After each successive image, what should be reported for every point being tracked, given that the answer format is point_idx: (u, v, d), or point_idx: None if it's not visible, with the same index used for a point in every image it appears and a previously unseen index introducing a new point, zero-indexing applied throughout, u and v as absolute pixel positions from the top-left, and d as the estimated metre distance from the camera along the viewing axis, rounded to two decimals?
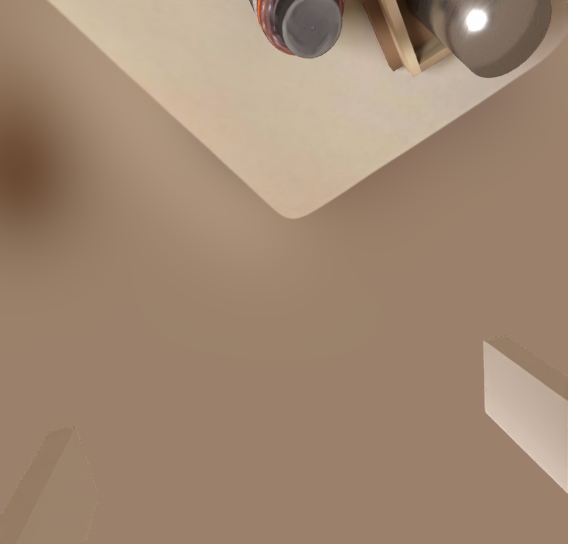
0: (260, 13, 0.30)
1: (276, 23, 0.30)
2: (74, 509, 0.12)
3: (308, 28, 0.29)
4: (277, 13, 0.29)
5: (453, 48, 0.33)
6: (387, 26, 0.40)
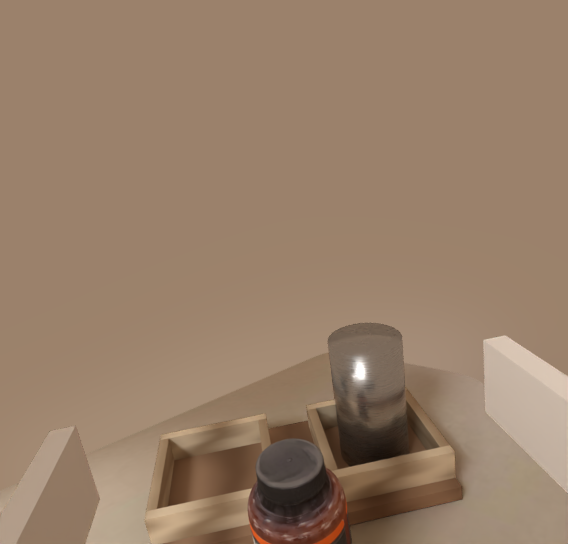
0: (275, 540, 0.24)
1: (283, 511, 0.25)
2: (74, 509, 0.12)
3: (287, 463, 0.26)
4: (272, 507, 0.25)
5: (378, 378, 0.35)
6: (403, 489, 0.35)
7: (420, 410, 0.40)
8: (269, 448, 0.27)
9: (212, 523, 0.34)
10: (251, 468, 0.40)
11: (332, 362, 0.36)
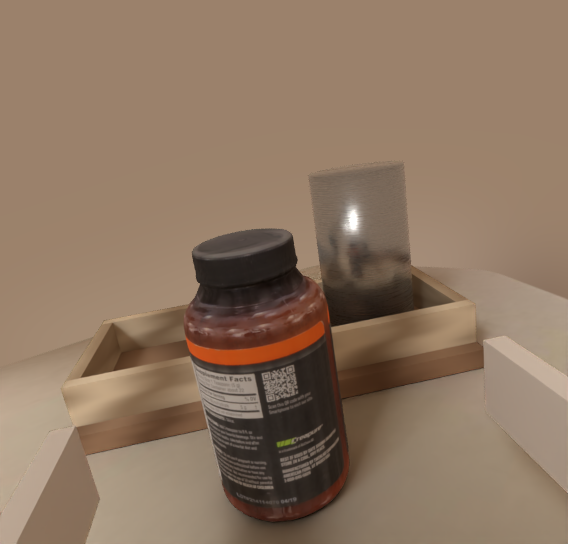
0: (217, 340, 0.16)
1: (230, 300, 0.16)
2: (74, 509, 0.12)
3: (238, 241, 0.17)
4: (215, 298, 0.16)
5: (373, 206, 0.26)
6: (409, 355, 0.27)
7: (427, 277, 0.32)
8: (215, 238, 0.19)
9: (155, 396, 0.25)
10: None
11: (314, 198, 0.28)
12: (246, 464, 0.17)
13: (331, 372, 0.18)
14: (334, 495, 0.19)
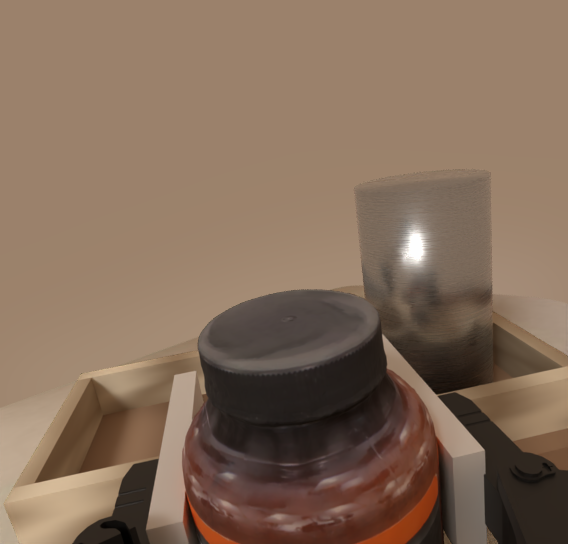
0: (247, 531, 0.08)
1: (271, 447, 0.08)
2: None
3: (282, 325, 0.09)
4: (242, 438, 0.09)
5: (452, 234, 0.18)
6: None
7: (506, 322, 0.24)
8: (237, 307, 0.11)
9: None
10: None
11: (364, 220, 0.20)
12: None
13: None
14: None
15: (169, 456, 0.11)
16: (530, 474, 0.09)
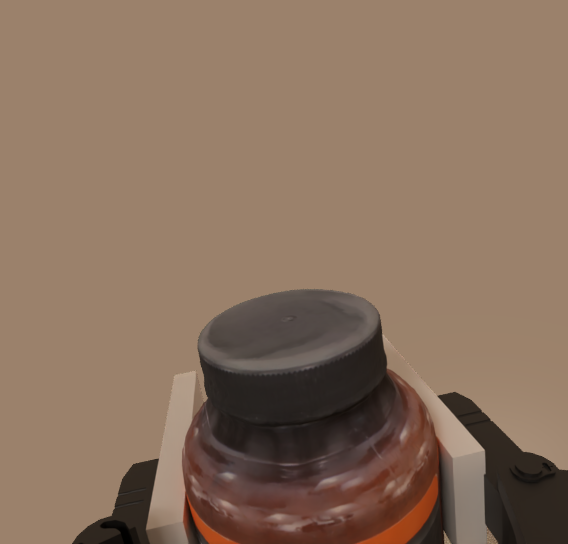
0: (247, 531, 0.08)
1: (271, 448, 0.08)
2: None
3: (282, 325, 0.09)
4: (242, 438, 0.09)
5: None
6: None
7: None
8: (237, 307, 0.11)
9: None
10: None
11: None
12: None
13: None
14: None
15: (169, 456, 0.11)
16: (530, 474, 0.09)
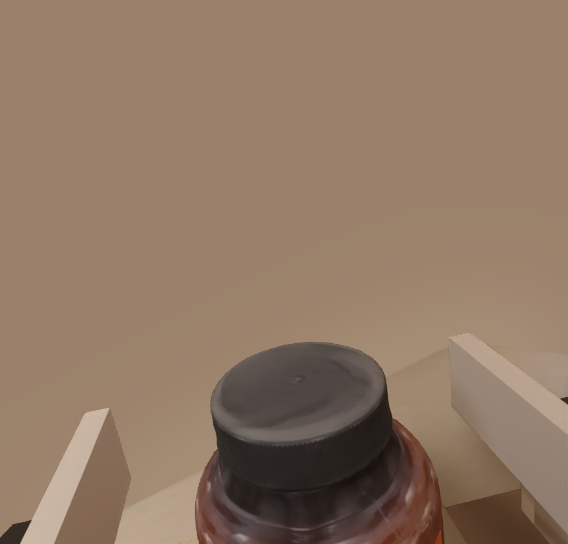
0: None
1: (282, 512, 0.09)
2: (111, 485, 0.13)
3: (291, 387, 0.10)
4: (254, 501, 0.09)
5: None
6: None
7: None
8: (247, 362, 0.11)
9: None
10: None
11: None
12: None
13: None
14: None
15: (42, 521, 0.10)
16: None
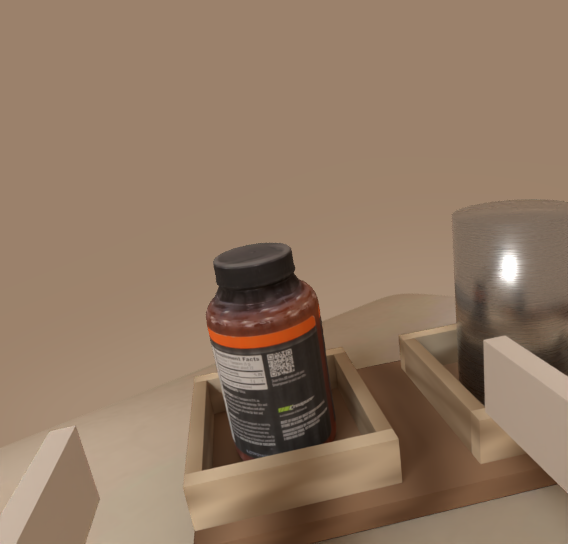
0: (233, 329, 0.21)
1: (243, 299, 0.21)
2: (74, 509, 0.12)
3: (249, 254, 0.22)
4: (231, 297, 0.21)
5: (550, 260, 0.22)
6: None
7: None
8: (230, 250, 0.24)
9: (291, 493, 0.21)
10: None
11: (465, 246, 0.24)
12: (254, 426, 0.22)
13: (321, 355, 0.23)
14: None
15: None
16: None
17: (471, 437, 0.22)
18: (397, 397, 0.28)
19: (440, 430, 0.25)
